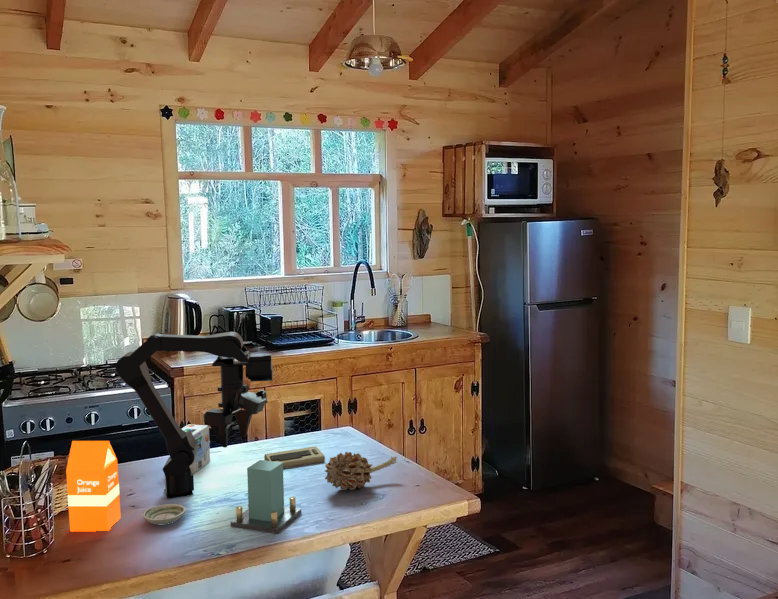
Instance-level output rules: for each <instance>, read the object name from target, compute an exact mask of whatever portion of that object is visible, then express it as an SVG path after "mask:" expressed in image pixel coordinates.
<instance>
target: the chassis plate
mask: <svg viewBox="0 0 778 599" xmlns="http://www.w3.org/2000/svg"><path fill="white" fill-rule="evenodd" d="M296 500H297V499H296V497H295V496H290V497H289V506H285V505H284V512H283V513H282V514H281V515H280V516H278V517H277V512H276V511H273V512H271V521H264V520H257V519H250V518H249V508H247V509H246V510H245V511H243V506H241V505H240V506H236V508H235V510H236V511H235V514H236V516H235V518H233V520H231V521H230V527H231V528H235V529H241V528H242V529H243V530H249V531H256V532H261V533H262V532H263V533H267V534H269V533H270V534H274V535H278V534H279V533H280V532H282V531H283V530H284V529H286V527H287V526H288V525H290V524H291V523H292V522H294V520H296V519H297V518H298V517H299V516H300V515H301V514H302V508H301V507H297V506H296Z"/></svg>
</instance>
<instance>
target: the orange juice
mask: <svg viewBox="0 0 778 599" xmlns="http://www.w3.org/2000/svg"><path fill="white" fill-rule="evenodd" d="M67 460H68V461H67V465H66V469H65V474H66V485H67V486H66V487H67V488H66V489H67V506H68V518H69V531H70V533H71V532H72V533H73V532H76V533H77V532H86V533H87V532H89V533H90V532H93V533H94V532H96V531H108V532H109V531H110V530H111V529H112V528H113V527H114V526H115V525H116V524H117V523H118V522H119V520H121V518H122V517H121V503H120V501H121V500H120V497H121V496H120V493H121V492H120V482H119V467H118V464H119V463H118V458H117V456H116V453H115V452H114V449H113V447H112V445H111V442H110V440H72V441H71V446H70V450H69V454H68V459H67ZM116 522H117V523H116ZM115 523H116V524H115ZM114 524H115V525H114ZM113 525H114V526H113ZM112 526H113V527H112ZM111 527H112V528H111Z"/></svg>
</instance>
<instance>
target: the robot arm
mask: <svg viewBox="0 0 778 599" xmlns="http://www.w3.org/2000/svg"><path fill="white" fill-rule="evenodd" d="M157 351H160V352H161V351H163V352H164V351H165V352H190V353H191V352H195V353H197V352H198V353H205V354H206V353H207V354H211V355H214V356H217V358H216V359H215V360H213V362H212V364H211V366H212V367H220V371H219V372H220V386H218V387H217V392H220V394H221V396H220V397H221V401H220V402H218V404H217V405H218V408H216V407H215V408H211V409H209V410H207V411H206V412H205V413H203V424H206V425H207V426H209V428H211V429H212V432H213V433H214V434H215V436H216V438H217V439H218V442H219V444H220V445H221V447H222V448H228V442H229V428H230V426H231V425H232V424H233V423H234V421H232V420H233V414H234V415H235V418H236V421H237V425H238V429H239V433H240V435H241V437H242V438H245V437H247V434H248V430H249V427H250V424H251V420H252V417H253V415H257V414H258V413H261V412H263V411H264V407H265V405H266V404H268V396H267V395H268V394H267V391H265V390H264V389H260V390H258V391H256V392H255V391H253V392H251V391H249V386H248V384H245V383H244V382H245V381H244V379H245V378H246V379H248V380H250V383H251V382H273V381H274V365H273V360H272V359H273V358H272V354H271V353H267V354H255V355H254V354H253V355H252V354H251V352H250V350H248V349H247V347H246V346H245V345H244V340H243V337H242V336H241V335H240V333H238V332H236V331H227V332H220V333H215V334H209V335H193V334H168V333H167V334H162V333H159V332H156V333H152V334H151V335H150V336H149V337H148V338H147V339H146V340H145V341H144V342H143V343H142V344H141V345H140V346H139V347H138V348H137V349H135V350H133V351H129V352H126V353H125V354H124V355H123V356H121V357H120V358H119V359H118V360H117V361H116V363H115V367H114V368H115V372H116V374H117V375H118V377H120V379H121V380H122V381H123V382H124V383H125V385H127V386H128V387H130V388H131V389H133V390H134V391H135V393H136V394H137V396H138V397H139V399H140V400H141V403H143V405H144V407H145V408H146V410H147V412H148V413H149V416H150V417H151V418H152V420H153V422H154V423H155V425H156V427H157V428H158V429H159V432H160V433H161V435H162V436H163V438H164V440H165V445H166V449H167V453H168V455H169V456H168V458H167V460H166V462H165V464H164V465H163V467H162V471H163V474H164V494H165V497H166V498H165V499H167V500H172V499H179V498H183V497H191V496H193V495H194V491H195V483H194V482H195V481H194V473H192V472H191V469H190V467H189V466H190V465H191V464H192V463H193V462H194V460H195V457H196V455H197V452H198V446H197V443H198V441H197V440H196V439H195V438H194V437H193V434H192V432H191V430H188V431H187V432H185V431H183V430H182V428H181V427H180V425H179V424H178V423H177V421H176V419H175V417H174V416H173V414H172V413H171V411H170V409H169V407H167V404H166V403H165V402H164V400H163V398H162V396H161V395H160V393H159V392H158V390H157V389H156V387H155V385H154V384H153V382H152V380H151V376H150V372H149V371H150V370H149V368H148V365H147V361H148V359H149V358H151V357H152V356H153V355H154V354H155V353H156V352H157ZM244 366H245V374H244ZM244 375H245V378H244Z"/></svg>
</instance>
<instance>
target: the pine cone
mask: <svg viewBox="0 0 778 599" xmlns="http://www.w3.org/2000/svg"><path fill="white" fill-rule="evenodd" d="M397 463H398V462H397V456H393V457H392V456H391V457H390V459H388V460H387V461H385V462H383V463H381V464H377V465H376V466H373V464H372V463H371V464H370V463H369V461H368V459H367V457H364V456H362V455H361V454H360V453H359V452H357V453H354V454H352V452H350V451H349V452H348V451H345V452H344V454H343V453H342V452H340V453H339V454H337V455H336V456H335V455H334V456H333V457H329V460H328V463H325V465H324V467H325V468H326V469H325V470H324V472H325V473H326V476H325V477H324V478H325V480H327V481H326V482H327V484H328V483H330V484H332V485H331V486H332V487H335V489H338V487H340V490H341V491H346V490H347V489H349V490H351V491H353V490H355V489H357V488H359V489H360V488H362V487H365V486H366V483H370V482H371V479H372V475H371V474H372V473H374V472H377V471H380V470H382V469H384V468H387V467H389V466H391V465H394V464H397Z"/></svg>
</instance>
